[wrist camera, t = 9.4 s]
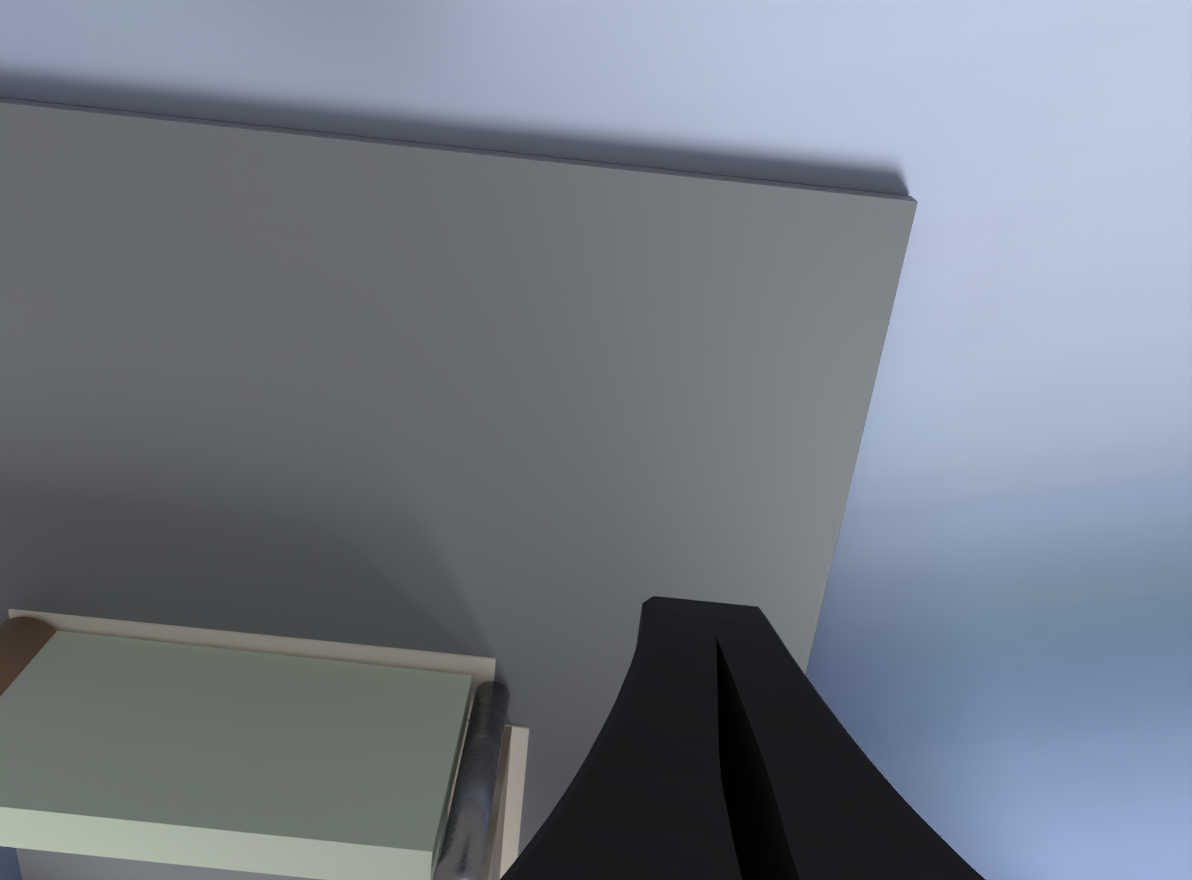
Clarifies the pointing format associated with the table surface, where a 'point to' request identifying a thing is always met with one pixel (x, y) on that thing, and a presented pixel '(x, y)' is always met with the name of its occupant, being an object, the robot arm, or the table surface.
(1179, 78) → the table surface
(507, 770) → the fence fixed section
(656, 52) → the table surface
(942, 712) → the table surface
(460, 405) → the board
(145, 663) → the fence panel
